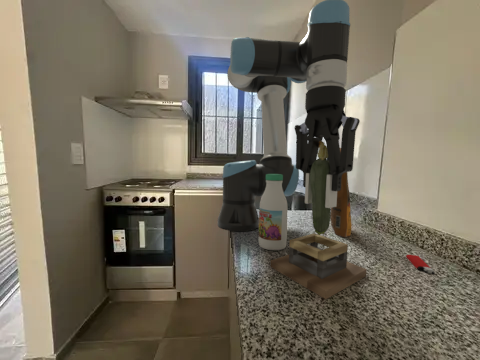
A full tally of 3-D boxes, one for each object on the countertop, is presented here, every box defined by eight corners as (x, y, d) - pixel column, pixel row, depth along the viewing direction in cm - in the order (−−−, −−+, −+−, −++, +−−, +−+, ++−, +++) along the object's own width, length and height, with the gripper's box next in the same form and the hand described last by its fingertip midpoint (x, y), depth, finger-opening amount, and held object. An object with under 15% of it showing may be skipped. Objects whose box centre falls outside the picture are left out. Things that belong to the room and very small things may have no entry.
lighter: (419, 255, 55) (435, 270, 48) (419, 260, 56) (435, 276, 48) (406, 254, 56) (419, 268, 49) (405, 259, 56) (419, 274, 49)
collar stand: (270, 266, 50) (271, 238, 50) (310, 252, 58) (311, 228, 58) (325, 299, 39) (327, 263, 38) (366, 276, 47) (368, 245, 46)
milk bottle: (269, 238, 68) (271, 172, 66) (291, 246, 63) (294, 174, 61) (252, 245, 63) (254, 173, 61) (275, 253, 57) (277, 175, 55)
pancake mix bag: (331, 238, 69) (336, 146, 67) (324, 221, 88) (328, 149, 85) (355, 240, 67) (361, 146, 65) (343, 223, 86) (347, 149, 83)
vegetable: (331, 240, 45) (336, 139, 43) (308, 238, 46) (312, 139, 44) (327, 233, 49) (331, 141, 48) (306, 231, 50) (310, 141, 48)
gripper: (280, 96, 50) (277, 200, 52) (359, 71, 36) (350, 216, 38) (302, 101, 54) (299, 197, 56) (381, 81, 40) (372, 210, 42)
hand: (320, 204), depth 47 cm, fingers closed on vegetable, 4 cm apart
